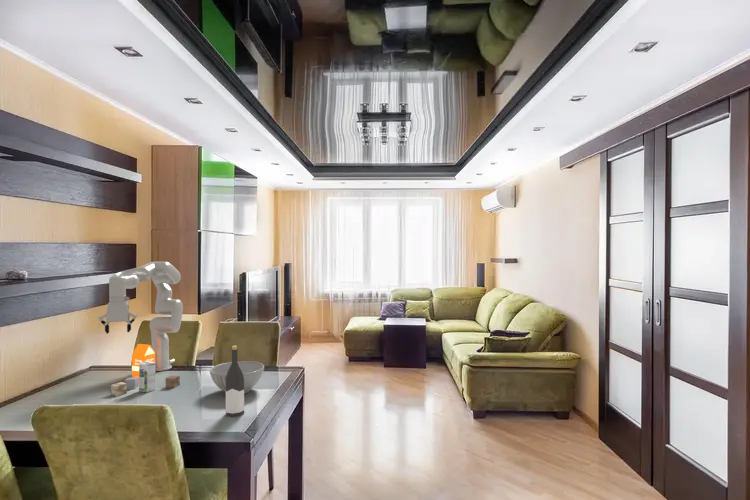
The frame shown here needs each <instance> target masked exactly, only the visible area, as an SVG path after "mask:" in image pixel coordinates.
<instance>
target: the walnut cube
mask: <svg viewBox="0 0 750 500" xmlns="http://www.w3.org/2000/svg"><path fill="white" fill-rule="evenodd" d="M180 378H181V375H169V376H167V377H166V378H165V388H167V389H169V388H170V389H172V388H173V389H176V388H177V387H179V386H180V385H181V384H180V383H181V379H180Z"/></svg>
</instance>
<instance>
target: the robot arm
mask: <svg viewBox="0 0 750 500" xmlns="http://www.w3.org/2000/svg"><path fill="white" fill-rule="evenodd" d="M108 279H109V280H108V282H109V283H108V286H109V287H108V290H109V291H108V292H109V294H108V295H109V299H108V300H109V302H107V308H106V313H105V314H104V315H101V316H98V320H99V321H100V323H101V324H102V325H103V326H104V332H105V334H109V333H110V325H109V324H110V323H118V322H119V323H121V322H126V333H130V331H131V330H132V324H133V322H135V320H136V318H137V315H136V314H134V313H131V312H130V306H129V302H128V301H127V300H130V297H129V296H127V289H129V290H131V289H132V290H133V289H135V288H137V287H138V286H139V285H140V283H141V282H146V281H148V280H150V279H151V281H152V282H153V284H154V287H155V288H156V299H155V306H154V311H155V313H156V314H157V315H162V316H155V317H153V318H151V320H150V321H149V331H150V338H151V348H152V349H153V351H154V352H155V372H163V371H168V370H170V369H171V368H172V367H173V365H172V363H175V361H176V360H175V358H172V359H170V338H169V335H168V333H169V334H171V333H172V334H173V333H178V332H179V330H180V328H181V325H182V317H183V311H184V310H183V309H184V304H183V302H182V301H181V300H180V299H176V298H173V289H172V288H171V286H170V285H176V284H178V283H179V282H180V281H181V279H182V276H181V272H180V271H179V270H178V269H177V268H176V267H175V266H174V265H173V264H172V263H170V262H168V261H150V262H147V263H145V264H143V265H141V266H139V267H134V268H131V269H126V270H122V271H119V272H116V273H114V274H113V275H112V276H110V277H109V278H108ZM163 315H164V316H163ZM165 315H166V316H165ZM168 315H169V316H168ZM170 315H171V316H170ZM131 317H132V318H131ZM104 318H106V320H104ZM130 318H131V320H130Z"/></svg>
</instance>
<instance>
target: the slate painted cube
mask: <svg viewBox="0 0 750 500" xmlns="http://www.w3.org/2000/svg"><path fill="white" fill-rule="evenodd" d="M124 383H126V384H127V390H131V389H132V390H133V389H136V388H139V377H132V376H128V377H126V378H125V379H124Z"/></svg>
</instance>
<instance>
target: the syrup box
mask: <svg viewBox="0 0 750 500" xmlns="http://www.w3.org/2000/svg"><path fill="white" fill-rule="evenodd" d="M154 390H156V371H155V362H150V361H145V362H141V363H139V386H138V391H139V392H143V393H149V392H152V391H154Z"/></svg>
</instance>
